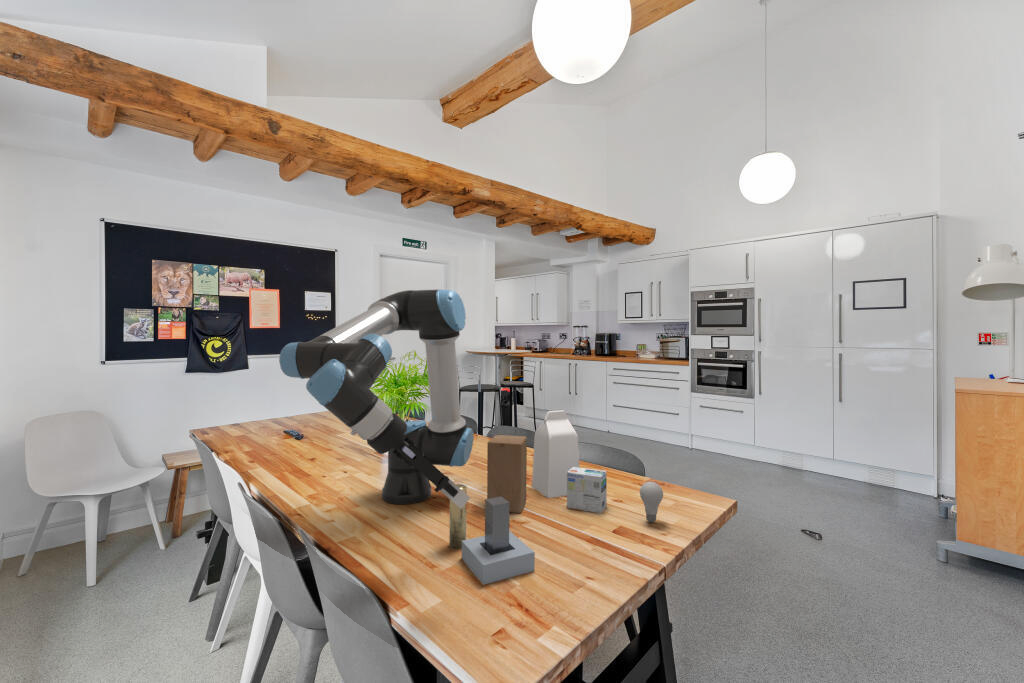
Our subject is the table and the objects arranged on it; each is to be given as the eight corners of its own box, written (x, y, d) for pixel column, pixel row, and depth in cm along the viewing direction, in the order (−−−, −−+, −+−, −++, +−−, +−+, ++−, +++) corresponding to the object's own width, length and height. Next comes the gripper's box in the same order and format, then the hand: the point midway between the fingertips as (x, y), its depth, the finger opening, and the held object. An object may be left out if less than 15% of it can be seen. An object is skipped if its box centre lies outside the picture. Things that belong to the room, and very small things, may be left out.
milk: (548, 498, 136) (548, 415, 136) (531, 486, 147) (532, 409, 147) (580, 493, 141) (581, 412, 141) (562, 482, 152) (563, 407, 152)
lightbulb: (651, 528, 114) (651, 487, 114) (634, 520, 120) (635, 480, 120) (667, 524, 117) (668, 483, 117) (651, 516, 123) (651, 477, 123)
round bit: (445, 546, 104) (446, 487, 104) (457, 540, 107) (458, 483, 107) (457, 551, 102) (458, 491, 102) (469, 544, 105) (470, 486, 105)
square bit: (492, 570, 93) (492, 505, 93) (484, 562, 97) (485, 499, 97) (509, 566, 95) (509, 502, 95) (500, 558, 99) (501, 496, 99)
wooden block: (520, 513, 124) (521, 443, 124) (486, 510, 126) (487, 441, 126) (526, 501, 134) (527, 436, 134) (494, 498, 136) (495, 434, 135)
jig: (483, 584, 88) (483, 565, 88) (461, 558, 98) (461, 540, 98) (534, 570, 93) (534, 552, 93) (508, 546, 104) (508, 530, 104)
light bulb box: (607, 506, 130) (607, 470, 130) (601, 514, 124) (602, 476, 124) (572, 500, 135) (572, 465, 135) (565, 508, 128) (566, 471, 128)
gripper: (355, 429, 94) (423, 488, 101) (378, 457, 72) (463, 530, 79) (380, 403, 96) (445, 462, 103) (410, 422, 74) (489, 496, 81)
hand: (453, 492), depth 91 cm, fingers open, 13 cm apart
